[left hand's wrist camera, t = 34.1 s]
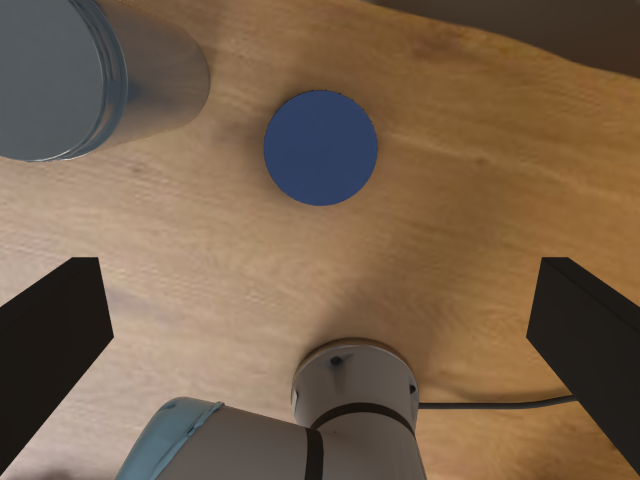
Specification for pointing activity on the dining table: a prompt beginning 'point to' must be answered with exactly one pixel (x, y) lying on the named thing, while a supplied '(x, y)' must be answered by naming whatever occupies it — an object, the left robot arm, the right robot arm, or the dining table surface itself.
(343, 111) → the lid
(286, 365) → the dining table surface
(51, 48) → the jar
